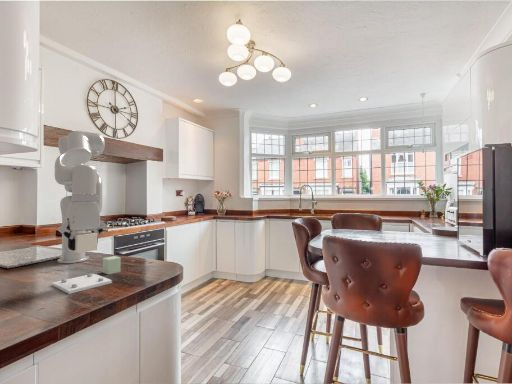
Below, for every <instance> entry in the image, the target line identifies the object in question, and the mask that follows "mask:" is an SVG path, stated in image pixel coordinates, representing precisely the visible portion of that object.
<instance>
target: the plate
mask: <svg viewBox="0 0 512 384" xmlns="http://www.w3.org/2000/svg"><path fill="white" fill-rule="evenodd" d="M110 284H113V279H110V278H107V277H104V276H102V275H99V274H96V273H88V274H85V275H81V276H76V277H72V278H65V279H61V280H58V281H53V282H52V283H51V286H53V287H55V288H56V289H58V290H61V291H62V292H64V293H66V294H68V295H70V294H74V293H78V292H81V291H82V292H83V291H86V290H90V289H93V288H97V287H98V288H99V287H101V286H105V285H110Z"/></svg>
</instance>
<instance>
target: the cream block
mask: <svg viewBox="0 0 512 384" xmlns="http://www.w3.org/2000/svg"><path fill="white" fill-rule="evenodd" d="M74 239H75V250H73V252H76V253H80V252H85V253H86V252H93V251H97V250H98V244H97V233H92V232H91V231H85V232H83V233H76V234H75V236H74ZM69 251H72V250H70V249H69Z"/></svg>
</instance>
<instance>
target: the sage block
mask: <svg viewBox="0 0 512 384" xmlns="http://www.w3.org/2000/svg"><path fill="white" fill-rule="evenodd" d="M121 260H122V257H120V256H118V255H117V256H116V255H113V256H108V257H107V256H106V257H102V273H103V274H106V275H113V274H117V273H120V272H121V266H122V264H121Z"/></svg>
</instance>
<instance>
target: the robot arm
mask: <svg viewBox="0 0 512 384" xmlns="http://www.w3.org/2000/svg"><path fill="white" fill-rule="evenodd" d="M57 143H58V144H57V145H58V151H59V153H60V154H59V155H58V156H57V157H56V159H55V161H54V180H55V182H56V183H57V184H59V185H61V186H64V190H65V191H66V192H68V193H71V195H67V196H63V197H62V198H61V199H60V204H59V206H60V207H59V208H60V213H61V220H62V221H61V226H58V228H57V230H58V232H60V233H61V257H59V258H58V259H57V263H59V264H73V263H74V264H75V263H76V264H77V263H81V262H85V261H88V260H89V259H90V258H89V257H90V256H89V255H86V252H80V253H76V252H73V250H75V239H74V236H75V234H76V233H83V232H86V231H90V232H92V233H97V245H99V244H98V243H99V236H100V234H102V232H103V231H104V229H106V228H107V223H105V222H104V221H102V220H101V215H100V214H101V212H102V211H103V180H102V178H101V176H100V172H99V171H98V169H97V168H96V166H95V165H89V164H86V163H89V162H90V160H91V159H92V157H98V156H100V155H102V153H103V152H104V151H105V147H106V142H105V138H104V136H103V135H102V134H100V133H96V132H90V131H82V130H74V131H71V132H69V133H68V134H67V135H64V136H61V137H59V138H58V142H57ZM69 249H70V250H72V251H69Z"/></svg>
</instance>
